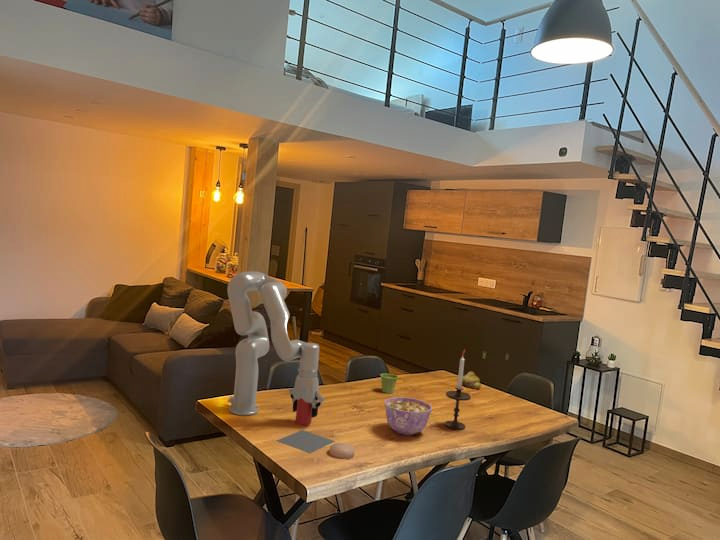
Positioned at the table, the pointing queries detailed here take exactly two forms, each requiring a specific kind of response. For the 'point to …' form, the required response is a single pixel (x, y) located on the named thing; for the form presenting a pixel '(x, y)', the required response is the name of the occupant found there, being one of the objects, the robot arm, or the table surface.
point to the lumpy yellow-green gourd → (471, 380)
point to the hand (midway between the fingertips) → (304, 413)
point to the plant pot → (388, 382)
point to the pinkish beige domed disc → (342, 450)
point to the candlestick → (458, 399)
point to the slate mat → (305, 441)
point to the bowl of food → (407, 414)
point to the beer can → (303, 412)
